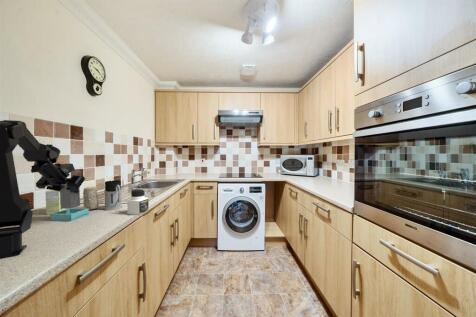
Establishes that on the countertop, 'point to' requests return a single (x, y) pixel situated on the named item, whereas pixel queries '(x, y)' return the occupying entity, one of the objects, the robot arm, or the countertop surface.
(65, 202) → the tall grey square pillar
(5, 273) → the countertop surface
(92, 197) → the carving
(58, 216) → the teal tray
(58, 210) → the box
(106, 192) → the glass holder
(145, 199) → the medicine bottle
